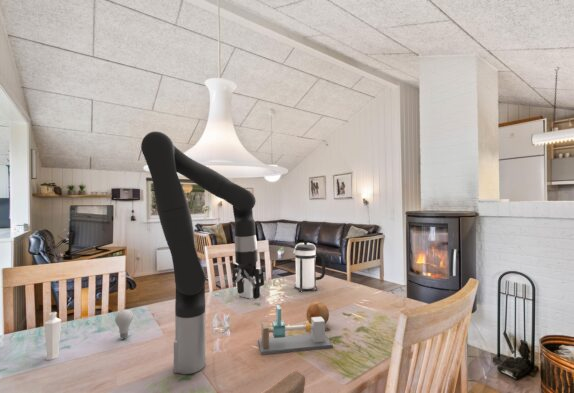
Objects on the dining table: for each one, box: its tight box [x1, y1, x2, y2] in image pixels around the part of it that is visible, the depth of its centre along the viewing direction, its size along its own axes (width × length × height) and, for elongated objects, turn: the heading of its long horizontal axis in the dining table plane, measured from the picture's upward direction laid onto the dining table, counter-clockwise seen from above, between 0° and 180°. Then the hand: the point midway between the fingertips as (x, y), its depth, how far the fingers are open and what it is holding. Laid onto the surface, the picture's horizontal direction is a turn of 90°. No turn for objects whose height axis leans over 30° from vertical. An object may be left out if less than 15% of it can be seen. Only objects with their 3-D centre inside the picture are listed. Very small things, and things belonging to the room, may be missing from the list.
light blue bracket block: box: [272, 304, 286, 338], centre depth 108 cm, size 4×4×10 cm
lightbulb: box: [114, 309, 134, 340], centre depth 114 cm, size 6×6×11 cm
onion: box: [305, 300, 330, 325], centre depth 126 cm, size 10×10×10 cm
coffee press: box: [292, 238, 326, 293], centre depth 179 cm, size 17×16×30 cm
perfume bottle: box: [43, 311, 62, 361], centre depth 101 cm, size 5×4×15 cm
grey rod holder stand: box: [258, 317, 334, 355], centre depth 109 cm, size 26×10×8 cm, turn 101°
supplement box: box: [238, 277, 262, 300], centre depth 166 cm, size 9×9×15 cm
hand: (248, 295), depth 101 cm, fingers open, 8 cm apart
